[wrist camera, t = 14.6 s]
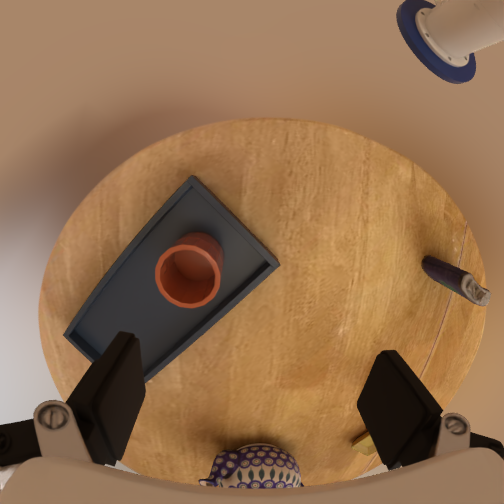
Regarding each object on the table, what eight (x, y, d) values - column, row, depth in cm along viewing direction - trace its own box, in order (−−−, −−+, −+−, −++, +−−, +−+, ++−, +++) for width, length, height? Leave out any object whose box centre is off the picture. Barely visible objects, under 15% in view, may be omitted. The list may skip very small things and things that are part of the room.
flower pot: (173, 229, 31) (155, 241, 24) (226, 234, 31) (222, 248, 24) (171, 280, 32) (155, 304, 25) (222, 285, 33) (217, 311, 26)
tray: (195, 175, 30) (191, 175, 27) (277, 258, 33) (280, 264, 30) (70, 327, 34) (62, 335, 31) (135, 384, 37) (131, 395, 34)
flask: (457, 275, 35) (501, 299, 24) (449, 290, 35) (491, 318, 25) (426, 251, 34) (475, 274, 23) (417, 269, 34) (464, 296, 24)
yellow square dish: (397, 428, 43) (400, 434, 41) (365, 450, 44) (368, 456, 42) (382, 416, 42) (386, 423, 40) (347, 440, 43) (350, 447, 41)
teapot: (324, 456, 44) (340, 510, 29) (272, 482, 46) (279, 532, 32) (234, 413, 39) (235, 488, 24) (182, 445, 41) (172, 507, 27)
